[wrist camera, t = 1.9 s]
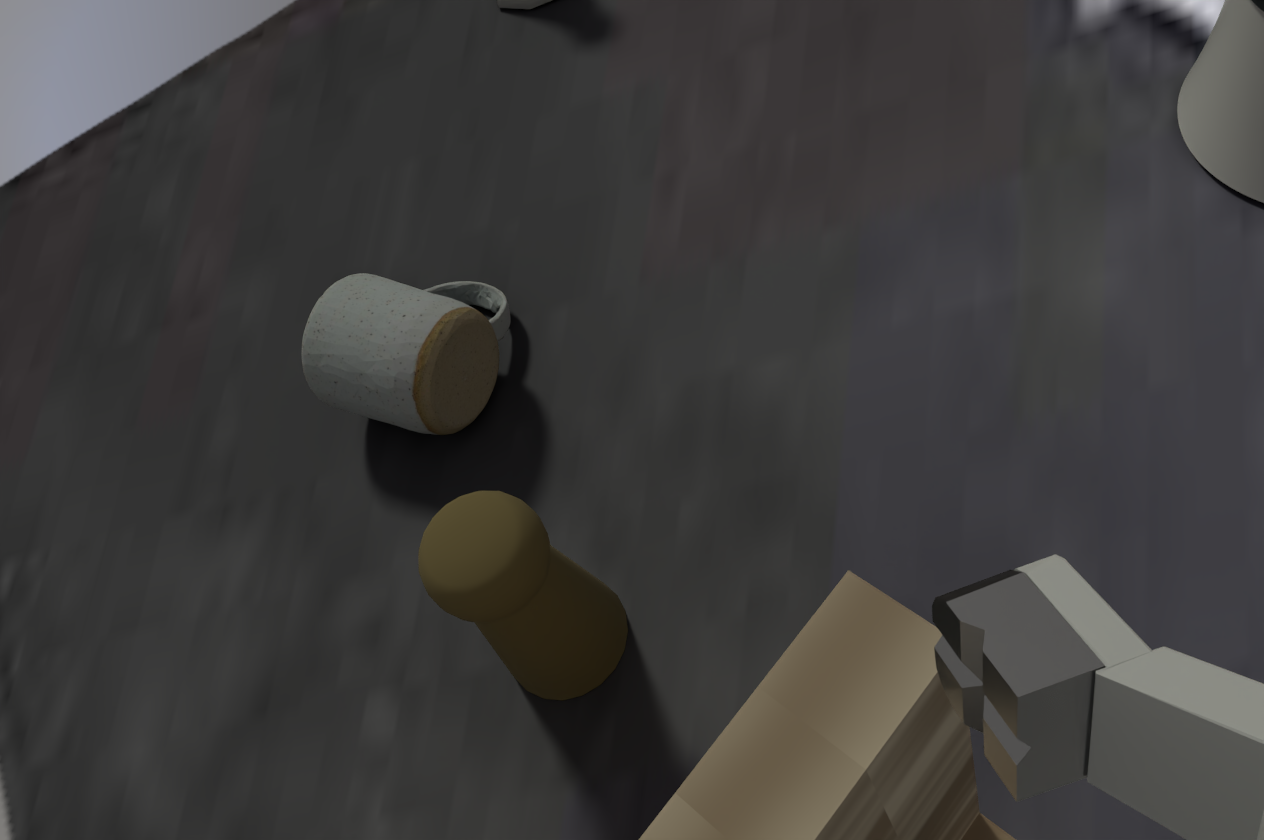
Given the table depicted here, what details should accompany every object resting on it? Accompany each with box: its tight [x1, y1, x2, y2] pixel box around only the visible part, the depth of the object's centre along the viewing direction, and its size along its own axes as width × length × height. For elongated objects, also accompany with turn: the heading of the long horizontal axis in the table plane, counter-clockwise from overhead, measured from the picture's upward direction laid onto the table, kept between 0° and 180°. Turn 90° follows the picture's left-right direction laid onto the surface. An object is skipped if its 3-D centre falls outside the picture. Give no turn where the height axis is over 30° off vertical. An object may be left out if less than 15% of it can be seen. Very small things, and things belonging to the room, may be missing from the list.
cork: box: [419, 491, 628, 700], centre depth 44 cm, size 6×6×11 cm
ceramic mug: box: [302, 273, 511, 435], centre depth 56 cm, size 11×8×8 cm
